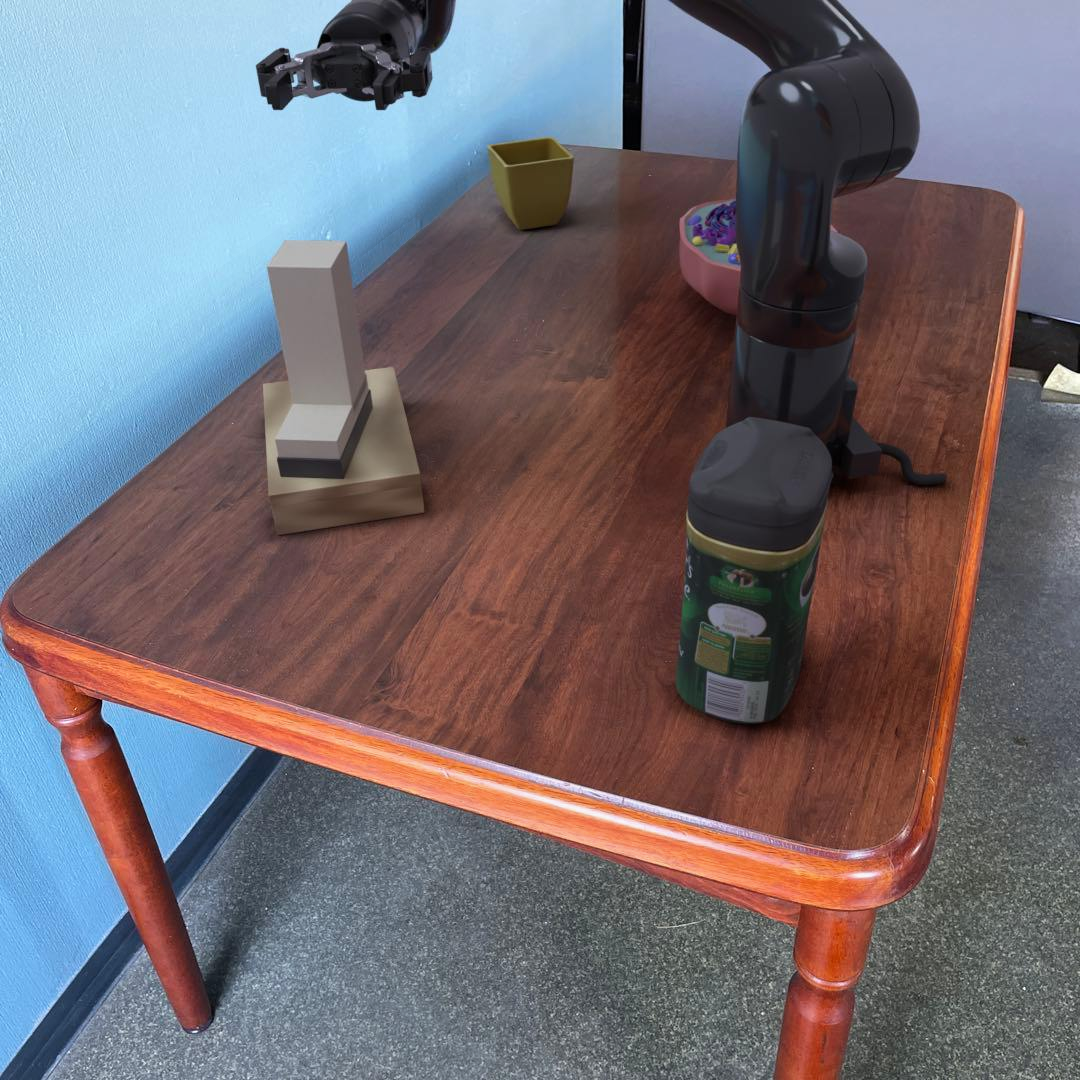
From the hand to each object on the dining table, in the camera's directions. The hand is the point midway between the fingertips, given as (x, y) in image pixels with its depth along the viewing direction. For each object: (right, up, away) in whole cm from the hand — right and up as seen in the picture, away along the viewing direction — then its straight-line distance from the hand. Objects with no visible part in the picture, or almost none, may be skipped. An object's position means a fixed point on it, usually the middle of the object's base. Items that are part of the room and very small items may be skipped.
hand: (326, 97), depth 86 cm
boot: (-1, -27, +4) cm, 27 cm away
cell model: (+40, -10, +31) cm, 52 cm away
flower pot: (+16, +5, +51) cm, 54 cm away
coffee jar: (+30, -45, -13) cm, 56 cm away
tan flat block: (0, -29, +9) cm, 30 cm away
